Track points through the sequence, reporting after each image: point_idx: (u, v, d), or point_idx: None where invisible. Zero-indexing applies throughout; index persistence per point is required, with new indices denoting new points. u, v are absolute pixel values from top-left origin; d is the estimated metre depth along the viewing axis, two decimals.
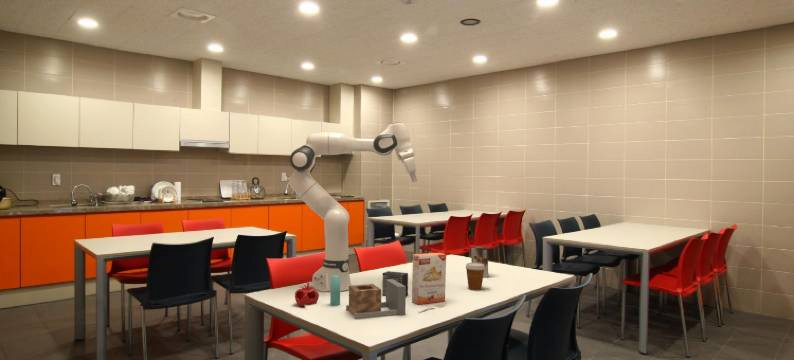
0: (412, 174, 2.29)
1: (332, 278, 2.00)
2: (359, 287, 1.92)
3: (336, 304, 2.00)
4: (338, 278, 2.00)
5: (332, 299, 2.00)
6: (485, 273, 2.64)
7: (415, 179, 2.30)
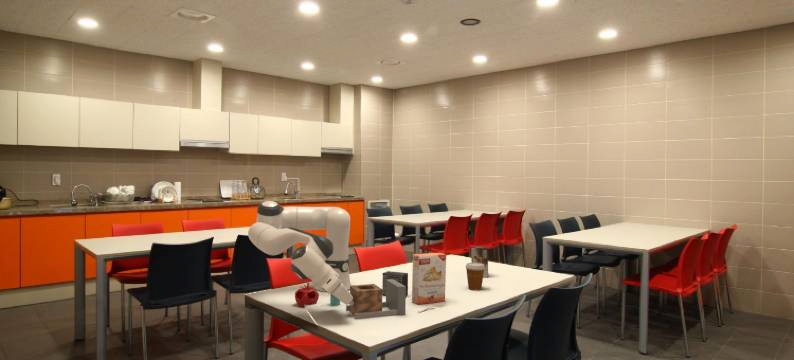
0: None
1: None
2: (360, 287, 1.92)
3: (336, 304, 2.00)
4: None
5: (332, 299, 2.00)
6: (485, 273, 2.64)
7: (351, 302, 1.86)
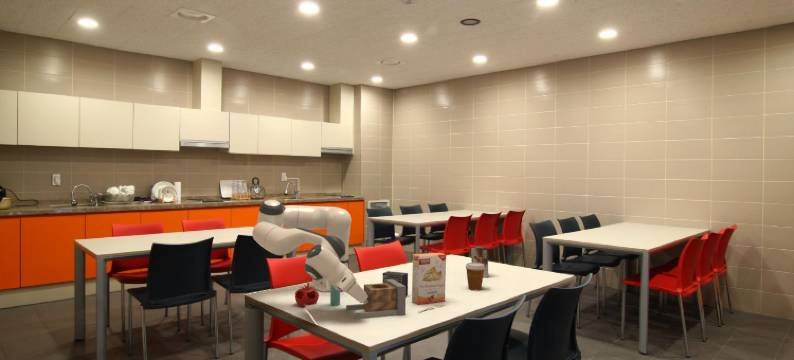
0: None
1: None
2: (374, 286, 1.94)
3: (336, 304, 2.00)
4: None
5: (332, 299, 2.00)
6: (485, 273, 2.64)
7: (365, 300, 1.88)
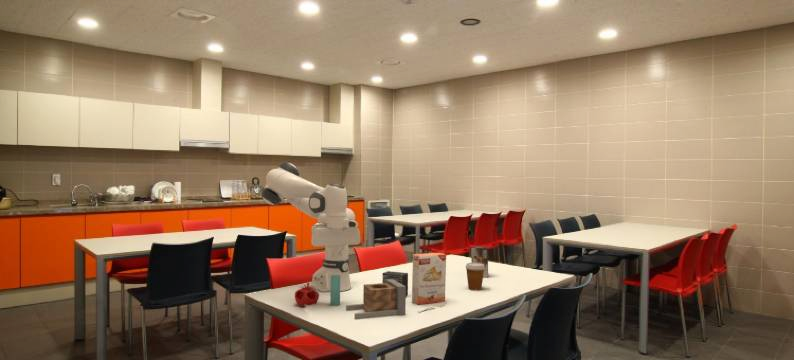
0: None
1: (332, 278, 2.00)
2: (373, 286, 1.94)
3: (336, 304, 2.00)
4: (338, 278, 2.00)
5: (332, 299, 2.00)
6: (485, 273, 2.64)
7: None
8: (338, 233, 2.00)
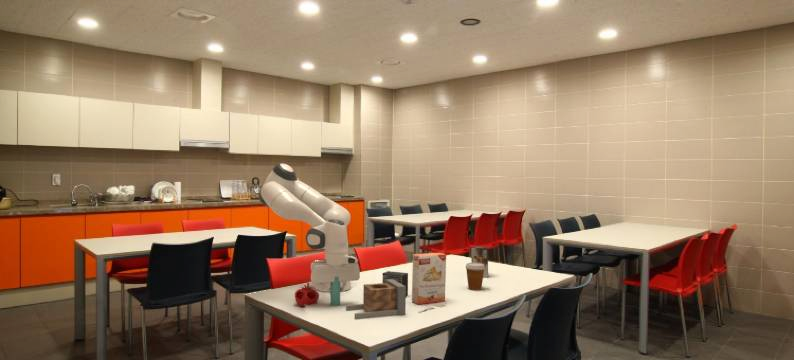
0: None
1: None
2: (373, 286, 1.94)
3: (336, 304, 2.00)
4: (338, 278, 2.00)
5: (332, 299, 2.00)
6: (485, 273, 2.64)
7: None
8: (337, 269, 2.00)
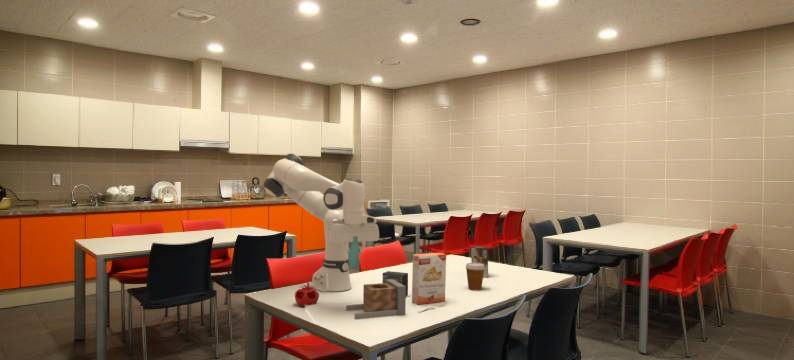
0: None
1: None
2: (373, 286, 1.94)
3: (355, 265, 1.94)
4: (357, 237, 1.94)
5: (351, 260, 1.94)
6: (485, 273, 2.64)
7: None
8: (356, 229, 1.95)
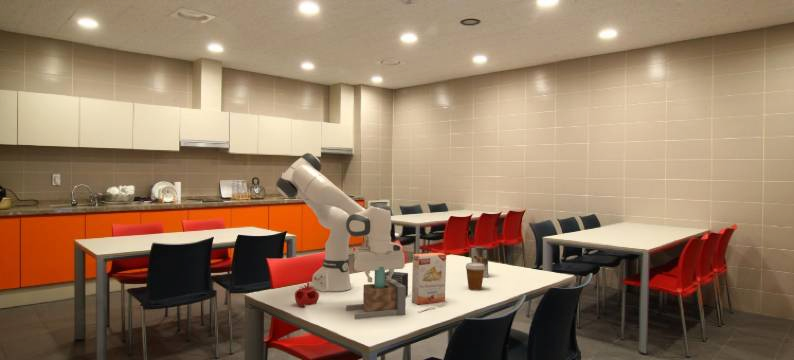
0: None
1: None
2: (373, 286, 1.94)
3: None
4: (383, 268, 1.90)
5: None
6: (485, 273, 2.64)
7: None
8: (382, 257, 1.90)
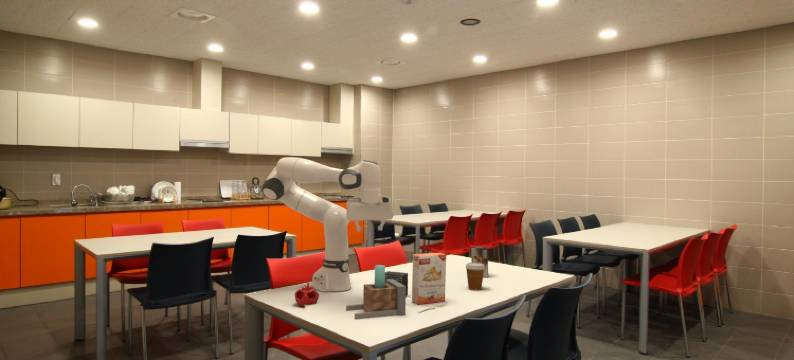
0: None
1: (377, 268, 1.90)
2: (373, 286, 1.94)
3: None
4: (383, 268, 1.90)
5: None
6: (485, 273, 2.64)
7: None
8: (372, 208, 2.07)
